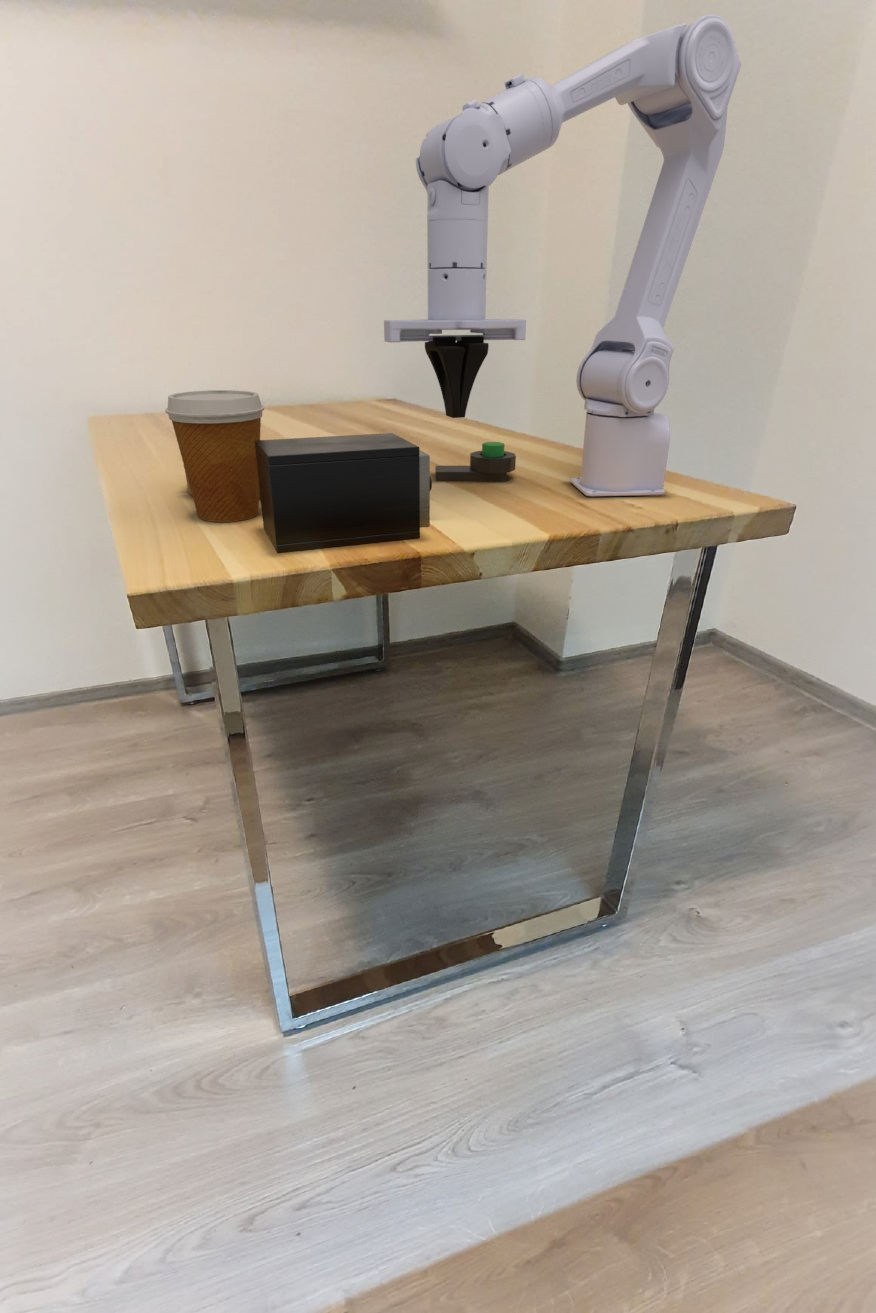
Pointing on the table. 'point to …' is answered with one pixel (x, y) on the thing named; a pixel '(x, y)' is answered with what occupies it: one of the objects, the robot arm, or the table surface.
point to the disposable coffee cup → (219, 450)
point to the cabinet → (338, 491)
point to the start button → (493, 449)
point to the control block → (479, 468)
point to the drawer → (425, 489)
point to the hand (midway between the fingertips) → (455, 416)
